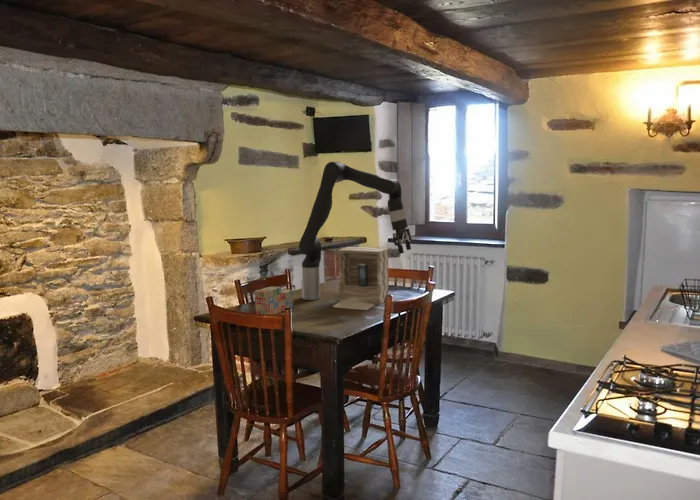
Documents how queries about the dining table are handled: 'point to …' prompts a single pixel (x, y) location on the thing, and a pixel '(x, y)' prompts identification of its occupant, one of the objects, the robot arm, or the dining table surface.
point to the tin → (363, 274)
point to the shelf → (376, 274)
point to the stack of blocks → (273, 300)
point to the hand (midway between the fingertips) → (405, 251)
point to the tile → (354, 305)
